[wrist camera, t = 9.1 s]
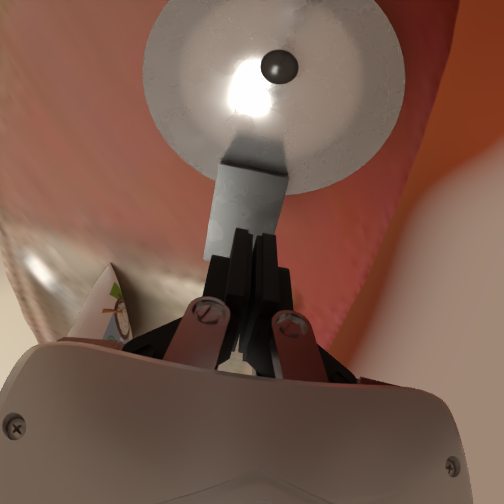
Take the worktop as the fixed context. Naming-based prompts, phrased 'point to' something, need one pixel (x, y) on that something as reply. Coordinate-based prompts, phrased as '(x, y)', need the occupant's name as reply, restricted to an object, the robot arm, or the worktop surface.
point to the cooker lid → (271, 98)
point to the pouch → (103, 312)
